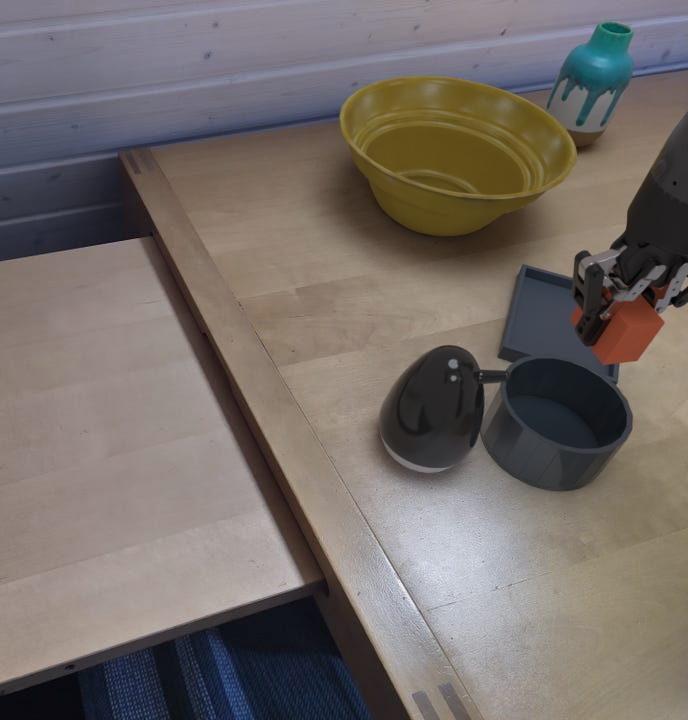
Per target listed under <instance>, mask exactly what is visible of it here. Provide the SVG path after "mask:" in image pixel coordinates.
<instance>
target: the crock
mask: <svg viewBox="0 0 688 720" xmlns="http://www.w3.org/2000/svg"><path fill="white" fill-rule="evenodd" d="M505 371H509V372H510V380H509V381H508V382H500V383H496V386H495V388H494V390H493V392H492V394H491V396H490V398H489V400H488V403H487V404H486V406H485V407H484V415H483V420H482V425H481V429H480V436H481V440H482V442H483V445H484V447H485V449H486V450H487V452H488V454H489V455H490V457H491V458H492V459H493V461H494V462H495V463H496V464H497V465H498V466H500V467H501V468H502V470H504V471H505V472H506V473H508V474H509V475H511V476H512V477H514V478H516V479H517V480H519V481H521V482H523V483H525V484H527V485H529V486H533V487H535V488H538V489H542V490H547V491H552V492H553V491H554V492H570V491H575V490H579V489H582V488H584V487H587V486H588V485H590V484H591V483H592V482H593V481H595V479H596V478H597V477H598V476H600V475H601V474H602V472H603V471H604V470H605V468H606V467H607V466H608V464H609V463H610V462H611V461H612V459H613V458H615V456H616V455H617V453H618V452H619V451H620V449H622V447H623V446H624V444H625V443H626V442H627V441H628V438H629V437H630V434H631V433H632V431H633V424H634V423H633V421H634V416H633V411H632V409H631V406H630V404H629V401H628V399H627V397H626V396H625V395H624V394H623V392H622V390H620V388H619V387H618V386H617V385H615V384H614V383H613V382H611V381H610V380H609V379H608V378H607V377H606V376H605V375H603V374H602V373H600V372H598V371H597V370H595V369H593V368H592V367H590V366H588V365H586V364H584V363H581V362H579V361H576V360H574V359H571V358H567V357H562V356H557V355H532V356H528V357H524V358H520V359H519V360H517V361H516V362H512V363H511V364H509V365H508V366H507V368H506V369H505Z"/></svg>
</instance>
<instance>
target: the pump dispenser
mask: <svg viewBox="0 0 688 720" xmlns="http://www.w3.org/2000/svg"><path fill="white" fill-rule="evenodd" d="M509 380H510V372H509V371H506V370H501V369H500V370H499V369H483V368H482V369H481V368H480V365H479V363H478V361H477V360H476V358H475V356H474V355H473V354H472V353H471V352H470V351H469V350H467V349H465V348H464V347H462V346H460V345H455V344H443V345H439V346H436V347H434V348H432V349H429V350H427V351H426V352H425V353H423V354H422V355H420V356H419V357H418V358H416V359H415V360H414V361H413V362H412V363H410V364H409V366H407V367H406V368H405V369H404V370H403V371H402V373H401V374H400V375H399V376H398V377H397V379H396V380H395V381H394V383H393V384H392V386H391V387H390V389H389V390H388V392H387V394H386V396H385V397H384V400H383V401H382V403H381V406H380V408H379V411H378V416H377V426H378V430H379V433H380V437H381V441H382V443H383V445H384V447H385V449H386V451H387V452H388V454H389V455H390V456H391V457H392V458H393V459H394V460H395V462H397V463H399V465H401V466H403V467H404V468H406V469H409V470H412V471H415V472H419V473H426V474H429V473H439V472H443V471H446V470H448V469H451V468H452V467H454V466H457V465H458V464H460V463H462V462H463V461H465V460H466V459H467V458H468V457H469V456H470V454H471V453H472V451H473V449H474V448H475V446H476V444H477V441H478V439H479V435H480V433H481V431H480V429H481V425H482V420H483V415H484V410H485V404H486V403H485V401H486V399H485V398H486V397H485V396H486V395H485V386H484V385H488V384H498V383H500V382H508V381H509Z"/></svg>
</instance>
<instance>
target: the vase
mask: <svg viewBox="0 0 688 720" xmlns="http://www.w3.org/2000/svg"><path fill="white" fill-rule="evenodd" d="M634 34H635V29H634V28H633V27H632V26H631V25H629V24H628V23H625V22H622V21H618V20H610V19H609V20H608V19H607V20H602V21H600V22H598V23H597V25H596V27H595V28H594V31H593V33H592V35H591V37H590V39H589V40H588V41H587V42H585V43H581V44H579V45H577V46H575V47H574V48H573V49H571V51H570V52H569V53H568V54H567V57H566V58H565V60H564V62H563V63H562V66H561V67H560V70H559V71H558V74H557V76H556V79H555V81H554V82H553V85H552V88H551V91H550V93H549V96H548V99H547V102H546V105H545V108H544V110H545V111H546V112H547V113H549V114H550V115H552V116H553V117H554V118H555V119H556V120H557V121H559V122H560V123H561V124H562V126H563V127H564V128H565V129H566V130H567V132H568V133H569V135H570V136H571V138H572V139H573V142H574V144H575V147H576V148H578V147H579V148H580V147H584V146H588V145H591V144H592V143H594V142H596V141H597V140H598V139H599V138H600V137H601V136H602V135H603V134H604V132H605V131H606V130H607V128H608V127H609V125H610V123H611V122H612V120H613V118H614V116H615V114H616V112H617V111H618V109H619V107H620V104H621V103H622V101H623V98H624V96H625V94H626V92H627V90H628V87H629V85H630V82H631V80H632V77H633V73H634V68H635V62H634V58H633V57H632V55H631V54H630V53H629V51H628V50H629V47H630V44H631V41H632V40H633V37H634Z"/></svg>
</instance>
